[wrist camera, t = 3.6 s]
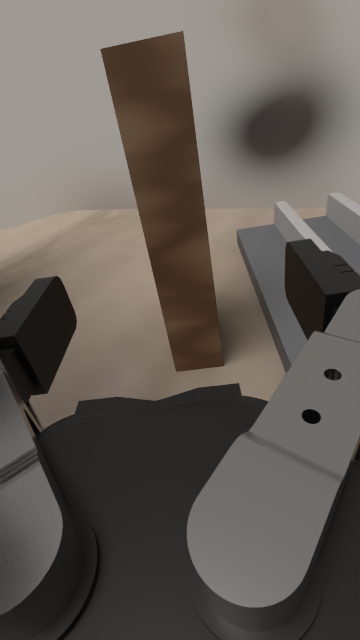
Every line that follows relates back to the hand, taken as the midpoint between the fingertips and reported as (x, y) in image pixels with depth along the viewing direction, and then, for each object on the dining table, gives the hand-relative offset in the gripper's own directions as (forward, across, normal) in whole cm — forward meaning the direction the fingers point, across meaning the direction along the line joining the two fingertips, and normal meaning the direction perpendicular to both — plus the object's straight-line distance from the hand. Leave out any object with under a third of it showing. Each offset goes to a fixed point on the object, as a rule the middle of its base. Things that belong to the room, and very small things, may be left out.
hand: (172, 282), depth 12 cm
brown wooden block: (+7, 0, +9) cm, 11 cm away
